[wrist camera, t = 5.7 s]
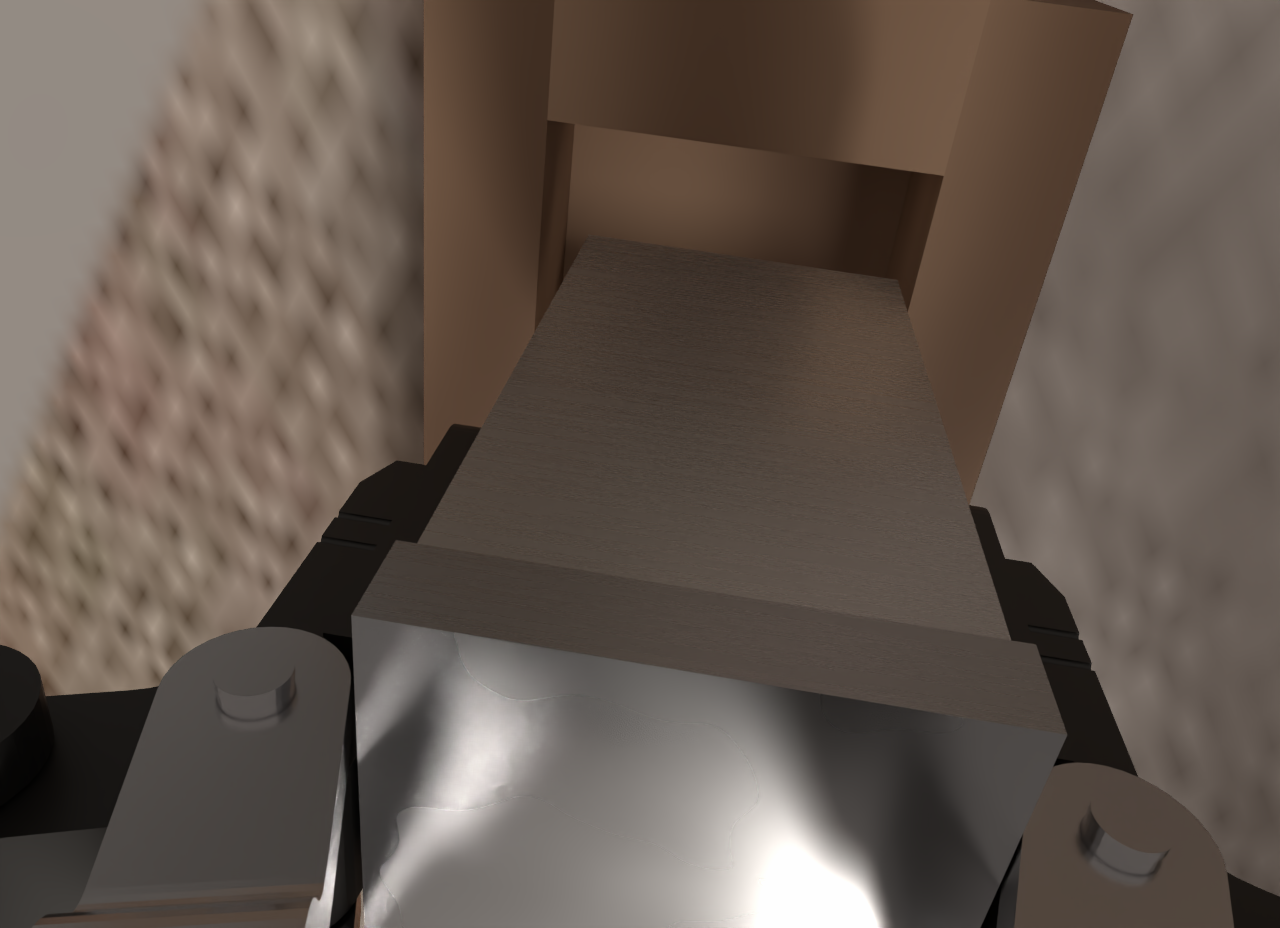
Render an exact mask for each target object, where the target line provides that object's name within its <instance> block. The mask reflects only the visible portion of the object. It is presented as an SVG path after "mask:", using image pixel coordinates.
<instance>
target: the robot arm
mask: <svg viewBox="0 0 1280 928" xmlns="http://www.w3.org/2000/svg"><path fill="white" fill-rule="evenodd" d="M480 429H481V427H474V426H468V425H462V424H453V425H451V426H450V428H449V429H448V431H447V432H446V434H445V436H444V437H443V439H442V441H441V442H440V444H439V445H438V447H437V449H436V450H435V452H434V453H433V455H432V457H431V458H430V460H429V462H428V463H427V465H422V464H415V463H409V462H403V461H395V462H394V463H392V464H390V465H388V466H387V467H385V468H383V469H382V470H380V471H378V472H377V473H375V474H373V475H372V476H370V477H368V478H366V479H365V480H363V481H361V482H360V483H359V484H358V486H357V487H356V489H355V490H354V491H353V493H352V494H351V496H350V497H349V498H348V500H347V501H346V503H345V504H344V505H343V507H342V508H341V510H340V511H339V516H338V518H336V517H335V518H334V519H333V521H332V522H331V524H330V525H329V526H328V528H327V529H326V531H325V532H324V533H323V535H322V539H321V542H317V543H316V545H315V546H314V547H313V549H312V550H311V552H310V553H309V554H308V556H307V557H306V559H305V560H304V561H303V563H302V564H301V566H300V567H299V568H298V570H297V571H296V573H295V574H294V575H293V577H292V578H291V580H290V581H289V582H288V584H287V585H286V587H285V588H284V589H283V591H282V592H281V594H280V595H279V596H278V598H277V599H276V601H275V602H274V603H273V605H272V606H271V608H270V609H269V610H268V612H267V613H266V615H265V616H264V617H263V619H262V620H261V622H260V623H259V624H258V626H257V627H256V628H250V629H244V630H239V631H235V632H231V633H228V634H224V635H221V636H219V637H216V638H214V639H211V640H209V641H207V642H205V643H203V644H201V645H199V646H197V647H195V648H194V649H192V650H191V651H189V652H188V653H187V654H185V655H184V656H182V657H181V658H180V659H179V660H178V661H177V662H176V663H175V664H174V665H173V666H172V667H171V668H170V669H169V670H168V672H167V673H166V674H165V676H164V677H163V679H162V681H161V683H160V685H159V686H157V687H153V688H146V689H138V690H129V691H115V692H101V693H87V694H73V695H58V696H45V692H44V688H43V684H42V680H41V676H40V674H39V671H38V669H37V667H36V665H35V664H34V663H33V662H32V661H31V660H30V659H29V658H28V657H27V656H25V655H24V654H22V653H21V652H19V651H17V650H15V649H12V648H10V647H7V646H3V645H0V928H359V927H360V916H361V895H360V892H361V890H362V888H363V880H362V856H361V832H360V809H359V785H358V762H357V738H356V714H355V691H354V667H353V644H352V620H351V615H352V613H353V612H354V610H355V608H356V606H357V605H358V603H359V601H360V600H361V598H362V596H363V595H364V593H365V591H366V590H367V588H368V586H369V585H370V583H371V581H372V579H373V578H374V576H375V574H376V573H377V571H378V569H379V568H380V566H381V564H382V563H383V561H384V559H385V558H386V556H387V554H388V552H389V551H390V549H391V547H392V546H393V544H394V542H395V541H396V540H399V541H405V542H411V543H418V541H419V539H420V537H421V535H422V534H423V532H424V530H425V528H426V526H427V525H428V523H429V521H430V519H431V517H432V516H433V514H434V512H435V510H436V508H437V507H438V505H439V503H440V501H441V499H442V498H443V496H444V494H445V492H446V490H447V489H448V487H449V485H450V483H451V481H452V480H453V478H454V476H455V474H456V472H457V471H458V469H459V467H460V465H461V464H462V462H463V460H464V458H465V456H466V455H467V453H468V451H469V449H470V447H471V446H472V444H473V442H474V440H475V438H476V437H477V435H478V433H479V431H480ZM969 508H970V511H971V514H972V517H973V521H974V524H975V527H976V530H977V533H978V536H979V540H980V543H981V546H982V549H983V552H984V555H985V559H986V562H987V565H988V568H989V571H990V574H991V577H992V581H993V584H994V587H995V590H996V593H997V596H998V600H999V603H1000V606H1001V609H1002V612H1003V615H1004V619H1005V622H1006V625H1007V628H1008V631H1009V634H1010V638H1011V640H1012V641H1018V642H1024V643H1030V644H1036V646H1037V649H1038V652H1039V655H1040V657H1041V660H1042V663H1043V666H1044V669H1045V672H1046V675H1047V678H1048V681H1049V683H1050V686H1051V689H1052V692H1053V695H1054V698H1055V701H1056V704H1057V706H1058V709H1059V712H1060V715H1061V718H1062V721H1063V724H1064V727H1065V729H1066V732H1067V737H1066V739H1065V741H1064V744H1063V746H1062V748H1061V750H1060V752H1059V755H1058V757H1057V759H1056V761H1055V763H1054V766H1053V768H1052V770H1051V772H1050V775H1049V777H1048V779H1047V781H1046V783H1045V786H1044V788H1043V790H1042V792H1041V795H1040V797H1039V799H1038V801H1037V803H1036V806H1035V808H1034V810H1033V812H1032V814H1031V817H1030V819H1029V821H1028V823H1027V826H1026V828H1025V830H1024V832H1023V834H1022V837H1021V839H1020V841H1019V843H1018V845H1017V848H1016V850H1015V852H1014V854H1013V857H1012V859H1011V861H1010V863H1009V865H1008V868H1007V870H1006V872H1005V874H1004V877H1003V879H1002V881H1001V883H1000V885H999V888H998V890H997V892H996V894H995V896H994V899H993V901H992V903H991V905H990V908H989V910H988V912H987V914H986V916H985V919H984V921H983V923H982V925H981V927H980V928H1280V897H1279V896H1277V895H1274V894H1272V893H1269V892H1267V891H1265V890H1262V889H1260V888H1257V887H1255V886H1253V885H1251V884H1249V883H1247V882H1245V881H1242V880H1240V879H1238V878H1236V877H1235V876H1233V875H1231V874H1229V873H1228V872H1227V871H1226V867H1225V862H1224V859H1223V857H1222V855H1221V852H1220V850H1219V848H1218V846H1217V844H1216V843H1215V841H1214V840H1213V838H1212V837H1211V835H1210V834H1209V832H1208V831H1207V830H1206V829H1205V827H1204V826H1203V825H1202V824H1201V823H1200V821H1199V820H1198V819H1197V818H1196V817H1195V816H1194V815H1193V814H1192V813H1191V812H1190V811H1189V810H1187V809H1186V808H1185V807H1184V806H1183V805H1182V804H1180V803H1179V802H1178V801H1177V800H1175V799H1174V798H1173V797H1172V796H1170V795H1169V794H1167V793H1166V792H1164V791H1162V790H1161V789H1159V788H1158V787H1156V786H1155V785H1153V784H1151V783H1149V782H1147V781H1145V780H1143V779H1141V778H1139V777H1138V775H1137V773H1136V770H1135V768H1134V766H1133V763H1132V761H1131V758H1130V756H1129V753H1128V751H1127V748H1126V746H1125V744H1124V741H1123V739H1122V736H1121V734H1120V731H1119V729H1118V726H1117V724H1116V722H1115V719H1114V717H1113V714H1112V712H1111V709H1110V707H1109V704H1108V702H1107V700H1106V697H1105V695H1104V692H1103V690H1102V687H1101V685H1100V682H1099V680H1098V678H1097V675H1096V673H1095V671H1091V664H1092V663H1091V660H1090V658H1089V656H1088V653H1087V651H1086V648H1085V646H1084V643H1083V641H1082V640H1079V639H1078V636H1079V631H1078V629H1077V626H1076V624H1075V621H1074V619H1073V616H1072V614H1071V612H1070V609H1069V607H1068V604H1067V602H1066V599H1065V597H1064V596H1063V595H1062V594H1061V593H1060V592H1059V591H1058V590H1057V589H1056V588H1055V587H1054V586H1053V585H1052V584H1051V583H1050V582H1049V580H1048V579H1047V578H1046V577H1045V576H1044V575H1043V574H1042V573H1041V572H1040V571H1039V570H1038V569H1037V568H1036V567H1035V566H1034V565H1033V564H1032V563H1029V562H1023V561H1017V560H1010V559H1005V558H1004V555H1003V552H1002V549H1001V546H1000V543H999V540H998V537H997V534H996V531H995V528H994V525H993V522H992V520H991V517H990V514H989V512H988V510H987V509H986V508H983V507H977V506H970V505H969Z"/></svg>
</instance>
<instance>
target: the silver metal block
mask: <svg viewBox="0 0 1280 928" xmlns="http://www.w3.org/2000/svg"><path fill="white" fill-rule="evenodd" d="M351 620H352V644H353V667H354V691H355V714H356V738H357V762H358V785H359V809H360V832H361V856H362V880H363V903H364V927H365V928H980V927H981V925H982V923H983V921H984V919H985V916H986V914H987V912H988V910H989V908H990V905H991V903H992V901H993V899H994V896H995V894H996V892H997V890H998V888H999V885H1000V883H1001V881H1002V879H1003V877H1004V874H1005V872H1006V870H1007V868H1008V865H1009V863H1010V861H1011V859H1012V857H1013V854H1014V852H1015V850H1016V848H1017V845H1018V843H1019V841H1020V839H1021V837H1022V834H1023V832H1024V830H1025V828H1026V826H1027V823H1028V821H1029V819H1030V817H1031V814H1032V812H1033V810H1034V808H1035V806H1036V803H1037V801H1038V799H1039V797H1040V795H1041V792H1042V790H1043V788H1044V786H1045V783H1046V781H1047V779H1048V777H1049V775H1050V772H1051V770H1052V768H1053V766H1054V763H1055V761H1056V759H1057V757H1058V755H1059V752H1060V750H1061V748H1062V746H1063V744H1064V741H1065V739H1066V737H1067V732H1066V729H1065V727H1064V724H1063V721H1062V718H1061V715H1060V712H1059V709H1058V706H1057V704H1056V701H1055V698H1054V695H1053V692H1052V689H1051V686H1050V683H1049V681H1048V678H1047V675H1046V672H1045V669H1044V666H1043V663H1042V660H1041V657H1040V655H1039V652H1038V649H1037V646H1036V644H1030V643H1024V642H1018V641H1012V640H1011V638H1010V634H1009V631H1008V628H1007V625H1006V622H1005V619H1004V615H1003V612H1002V609H1001V606H1000V603H999V600H998V596H997V593H996V590H995V587H994V584H993V581H992V577H991V574H990V571H989V568H988V565H987V562H986V559H985V555H984V552H983V549H982V546H981V543H980V540H979V536H978V533H977V530H976V527H975V524H974V521H973V517H972V514H971V511H970V508H969V505H968V502H967V498H966V495H965V492H964V489H963V486H962V483H961V479H960V476H959V473H958V470H957V467H956V464H955V460H954V457H953V454H952V451H951V448H950V445H949V441H948V438H947V435H946V432H945V429H944V426H943V422H942V419H941V416H940V413H939V410H938V407H937V403H936V400H935V397H934V394H933V391H932V388H931V384H930V381H929V378H928V375H927V372H926V369H925V365H924V362H923V359H922V356H921V353H920V350H919V346H918V343H917V340H916V337H915V334H914V331H913V327H912V324H911V321H910V318H909V315H908V312H907V308H906V305H905V302H904V299H903V296H902V293H901V289H900V286H899V283H898V280H895V279H888V278H881V277H874V276H867V275H861V274H854V273H847V272H840V271H833V270H827V269H820V268H813V267H806V266H799V265H793V264H786V263H779V262H772V261H765V260H759V259H752V258H745V257H738V256H731V255H725V254H718V253H711V252H704V251H697V250H691V249H684V248H677V247H670V246H663V245H657V244H650V243H643V242H636V241H630V240H623V239H616V238H609V237H602V236H596V235H588V237H587V239H586V241H585V242H584V244H583V246H582V248H581V250H580V251H579V253H578V255H577V257H576V259H575V260H574V262H573V264H572V266H571V268H570V269H569V271H568V273H567V275H566V277H565V278H564V280H563V282H562V284H561V286H560V287H559V289H558V291H557V293H556V295H555V296H554V298H553V300H552V302H551V304H550V305H549V307H548V309H547V311H546V313H545V314H544V316H543V318H542V320H541V322H540V323H539V325H538V327H537V329H536V331H535V332H534V334H533V336H532V338H531V340H530V341H529V343H528V345H527V347H526V349H525V350H524V352H523V354H522V356H521V357H520V359H519V361H518V363H517V365H516V366H515V368H514V370H513V372H512V374H511V375H510V377H509V379H508V381H507V383H506V384H505V386H504V388H503V390H502V392H501V393H500V395H499V397H498V399H497V401H496V402H495V404H494V406H493V408H492V410H491V411H490V413H489V415H488V417H487V419H486V420H485V422H484V424H483V426H482V428H481V429H480V431H479V433H478V435H477V437H476V438H475V440H474V442H473V444H472V446H471V447H470V449H469V451H468V453H467V455H466V456H465V458H464V460H463V462H462V464H461V465H460V467H459V469H458V471H457V472H456V474H455V476H454V478H453V480H452V481H451V483H450V485H449V487H448V489H447V490H446V492H445V494H444V496H443V498H442V499H441V501H440V503H439V505H438V507H437V508H436V510H435V512H434V514H433V516H432V517H431V519H430V521H429V523H428V525H427V526H426V528H425V530H424V532H423V534H422V535H421V537H420V539H419V541H418V543H411V542H405V541H399V540H396V541H395V542H394V544H393V546H392V547H391V549H390V551H389V552H388V554H387V556H386V558H385V559H384V561H383V563H382V564H381V566H380V568H379V569H378V571H377V573H376V574H375V576H374V578H373V579H372V581H371V583H370V585H369V586H368V588H367V590H366V591H365V593H364V595H363V596H362V598H361V600H360V601H359V603H358V605H357V606H356V608H355V610H354V612H353V613H352V615H351Z"/></svg>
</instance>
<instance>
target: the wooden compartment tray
mask: <svg viewBox="0 0 1280 928" xmlns="http://www.w3.org/2000/svg"><path fill="white" fill-rule="evenodd" d="M1132 16H1133V14H1130V13H1128V12H1125V11H1122V10H1120V9H1117V8H1114V7H1111V6H1109V5H1106V4H1103V3H1101V2H1098V1H1095V0H424V465H427V463H428V462H429V460H430V458H431V457H432V455H433V453H434V452H435V450H436V449H437V447H438V445H439V444H440V442H441V441H442V439H443V437H444V436H445V434H446V432H447V431H448V429H449V428H450V426H451V425H453V424H462V425H468V426H474V427H481V428H482V426H483V424H484V422H485V420H486V419H487V417H488V415H489V413H490V411H491V410H492V408H493V406H494V404H495V402H496V401H497V399H498V397H499V395H500V393H501V392H502V390H503V388H504V386H505V384H506V383H507V381H508V379H509V377H510V375H511V374H512V372H513V370H514V368H515V366H516V365H517V363H518V361H519V359H520V357H521V356H522V354H523V352H524V350H525V349H526V347H527V345H528V343H529V341H530V340H531V338H532V336H533V334H534V332H535V331H536V329H537V327H538V325H539V323H540V322H541V320H542V318H543V316H544V314H545V313H546V311H547V309H548V307H549V305H550V304H551V302H552V300H553V298H554V296H555V295H556V293H557V291H558V289H559V287H560V286H561V284H562V282H563V280H564V278H565V277H566V275H567V273H568V271H569V269H570V268H571V266H572V264H573V262H574V260H575V259H576V257H577V255H578V253H579V251H580V250H581V248H582V246H583V244H584V242H585V241H586V239H587V237H588V235H596V236H602V237H609V238H616V239H623V240H630V241H636V242H643V243H650V244H657V245H663V246H670V247H677V248H684V249H691V250H697V251H704V252H711V253H718V254H725V255H731V256H738V257H745V258H752V259H759V260H765V261H772V262H779V263H786V264H793V265H799V266H806V267H813V268H820V269H827V270H833V271H840V272H847V273H854V274H861V275H867V276H874V277H881V278H888V279H895V280H898V283H899V286H900V289H901V293H902V296H903V299H904V302H905V305H906V308H907V312H908V315H909V318H910V321H911V324H912V327H913V331H914V334H915V337H916V340H917V343H918V346H919V350H920V353H921V356H922V359H923V362H924V365H925V369H926V372H927V375H928V378H929V381H930V384H931V388H932V391H933V394H934V397H935V400H936V403H937V407H938V410H939V413H940V416H941V419H942V422H943V426H944V429H945V432H946V435H947V438H948V441H949V445H950V448H951V451H952V454H953V457H954V460H955V464H956V467H957V470H958V473H959V476H960V479H961V483H962V486H963V489H964V492H965V495H966V498H967V502H968V505H969V503H970V500H971V497H972V495H973V492H974V489H975V486H976V483H977V480H978V477H979V474H980V471H981V468H982V465H983V462H984V459H985V456H986V453H987V450H988V447H989V444H990V441H991V438H992V435H993V432H994V429H995V426H996V423H997V420H998V417H999V414H1000V411H1001V408H1002V405H1003V402H1004V399H1005V396H1006V393H1007V390H1008V387H1009V384H1010V381H1011V378H1012V375H1013V372H1014V369H1015V366H1016V363H1017V360H1018V357H1019V354H1020V351H1021V348H1022V345H1023V342H1024V339H1025V336H1026V333H1027V330H1028V327H1029V324H1030V321H1031V318H1032V315H1033V312H1034V309H1035V306H1036V303H1037V300H1038V297H1039V294H1040V291H1041V288H1042V285H1043V282H1044V279H1045V276H1046V273H1047V270H1048V267H1049V264H1050V261H1051V258H1052V255H1053V253H1054V250H1055V247H1056V244H1057V241H1058V238H1059V235H1060V232H1061V229H1062V226H1063V223H1064V220H1065V217H1066V214H1067V211H1068V208H1069V205H1070V202H1071V199H1072V196H1073V193H1074V190H1075V187H1076V184H1077V181H1078V178H1079V175H1080V172H1081V169H1082V166H1083V163H1084V160H1085V157H1086V154H1087V151H1088V148H1089V145H1090V142H1091V139H1092V136H1093V133H1094V130H1095V127H1096V124H1097V121H1098V118H1099V115H1100V112H1101V109H1102V106H1103V103H1104V100H1105V97H1106V94H1107V91H1108V88H1109V85H1110V82H1111V79H1112V76H1113V73H1114V70H1115V67H1116V64H1117V61H1118V58H1119V55H1120V52H1121V49H1122V46H1123V43H1124V40H1125V37H1126V34H1127V31H1128V28H1129V25H1130V22H1131V19H1132Z"/></svg>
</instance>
